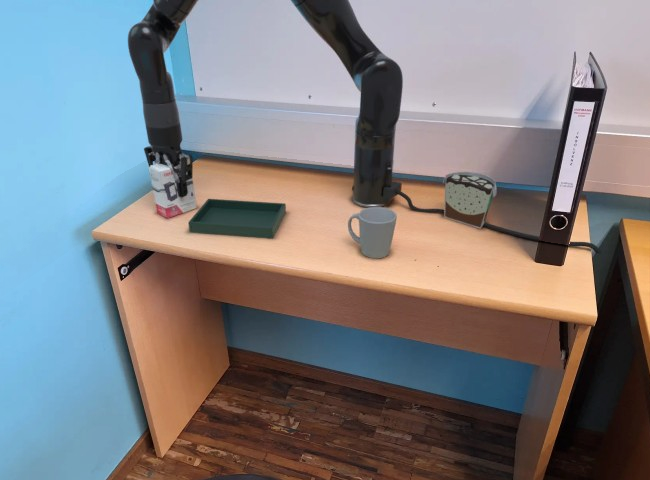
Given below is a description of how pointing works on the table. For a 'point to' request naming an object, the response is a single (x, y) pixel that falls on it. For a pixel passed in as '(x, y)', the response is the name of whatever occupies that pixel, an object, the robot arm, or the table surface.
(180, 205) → the ink box
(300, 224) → the table surface
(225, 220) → the desk tray
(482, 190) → the food container
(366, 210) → the cup
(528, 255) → the table surface
